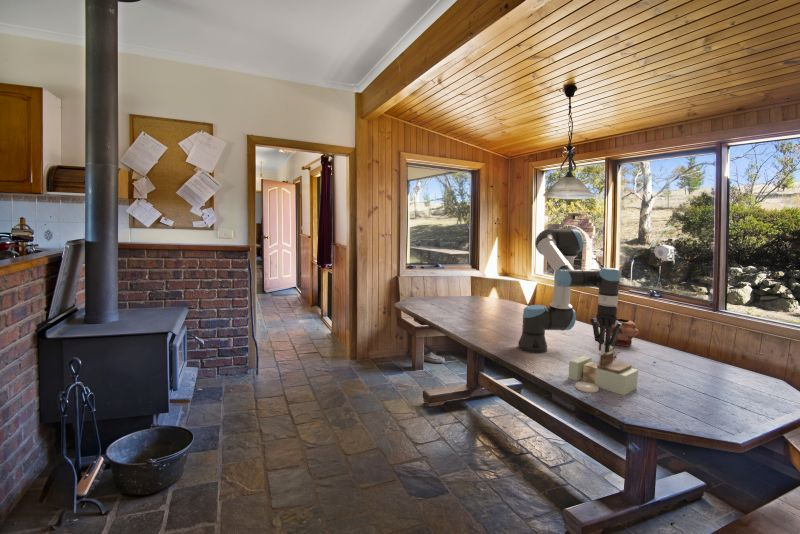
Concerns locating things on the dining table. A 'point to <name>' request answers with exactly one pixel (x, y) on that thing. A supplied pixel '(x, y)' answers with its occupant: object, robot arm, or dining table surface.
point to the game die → (613, 351)
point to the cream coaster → (587, 387)
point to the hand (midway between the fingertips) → (603, 358)
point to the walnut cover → (612, 363)
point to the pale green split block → (605, 376)
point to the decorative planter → (625, 332)
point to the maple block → (589, 372)
